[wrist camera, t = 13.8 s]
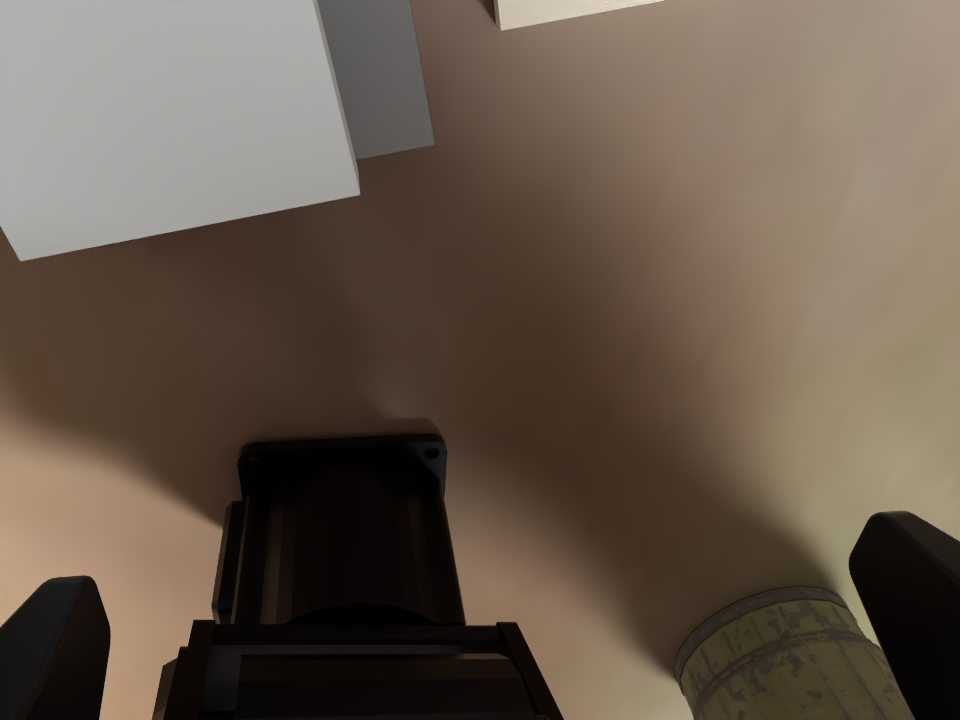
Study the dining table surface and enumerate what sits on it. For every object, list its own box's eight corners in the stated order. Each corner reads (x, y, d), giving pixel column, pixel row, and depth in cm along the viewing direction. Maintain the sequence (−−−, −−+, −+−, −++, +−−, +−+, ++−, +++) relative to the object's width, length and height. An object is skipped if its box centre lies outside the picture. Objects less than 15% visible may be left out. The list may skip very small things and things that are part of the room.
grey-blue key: (358, 169, 16) (360, 195, 14) (43, 229, 15) (20, 261, 14) (262, -224, 12) (255, -231, 11) (-160, -155, 11) (-215, -154, 10)
